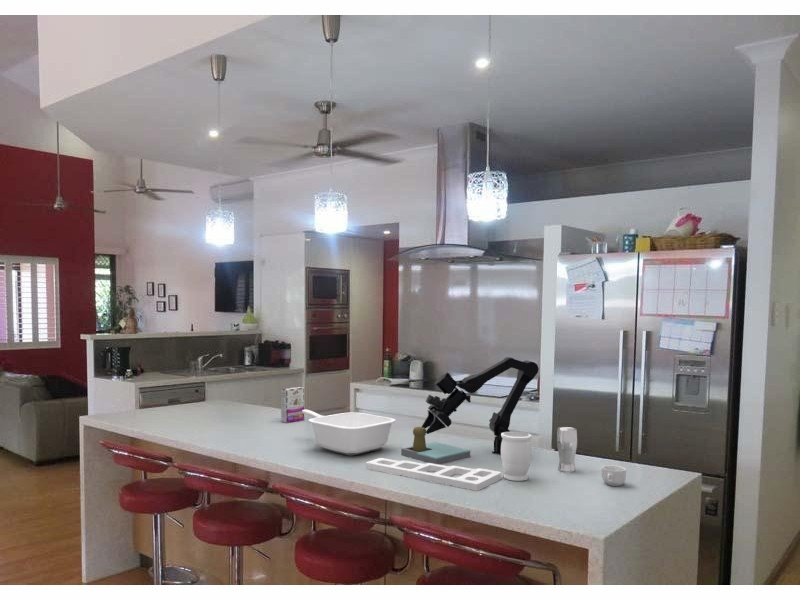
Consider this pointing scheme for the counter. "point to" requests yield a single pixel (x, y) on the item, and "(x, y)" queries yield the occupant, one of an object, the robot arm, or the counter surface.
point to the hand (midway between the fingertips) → (424, 430)
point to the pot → (350, 431)
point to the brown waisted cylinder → (419, 439)
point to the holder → (438, 473)
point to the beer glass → (566, 448)
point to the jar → (516, 455)
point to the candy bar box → (292, 404)
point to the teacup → (613, 475)
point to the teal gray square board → (437, 453)
